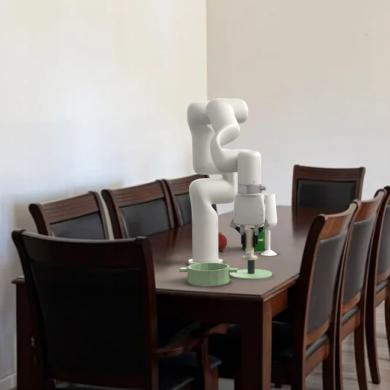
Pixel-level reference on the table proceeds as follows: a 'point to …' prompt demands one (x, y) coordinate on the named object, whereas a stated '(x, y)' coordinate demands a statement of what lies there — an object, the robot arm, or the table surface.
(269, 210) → the champagne flute
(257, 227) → the robot arm
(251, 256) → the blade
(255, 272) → the lid
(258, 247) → the milk carton
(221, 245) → the onion
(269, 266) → the table surface
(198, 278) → the pot
